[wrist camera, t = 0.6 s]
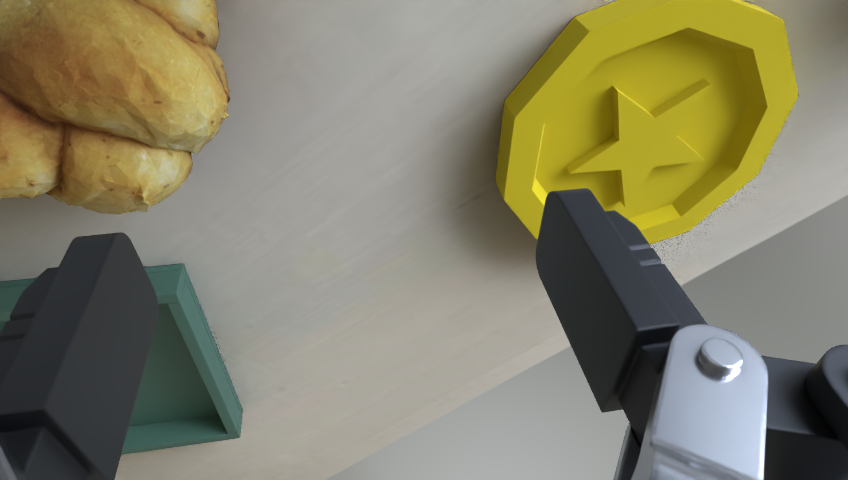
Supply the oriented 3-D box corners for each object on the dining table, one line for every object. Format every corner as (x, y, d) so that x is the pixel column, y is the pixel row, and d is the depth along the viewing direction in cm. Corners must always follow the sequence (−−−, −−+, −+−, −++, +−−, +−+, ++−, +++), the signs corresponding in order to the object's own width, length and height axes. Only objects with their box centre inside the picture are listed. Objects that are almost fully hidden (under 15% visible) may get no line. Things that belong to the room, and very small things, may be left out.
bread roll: (111, -146, 20) (29, -107, 14) (303, 46, 26) (302, 131, 20) (-60, 72, 24) (-180, 174, 18) (140, 196, 30) (99, 303, 24)
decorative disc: (828, -31, 27) (858, -19, 26) (705, 226, 39) (721, 244, 38) (517, -16, 25) (530, -2, 24) (486, 250, 37) (494, 271, 36)
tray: (-55, 286, 32) (-78, 320, 30) (183, 263, 33) (176, 293, 32) (72, 432, 43) (61, 463, 42) (242, 409, 45) (240, 438, 43)
